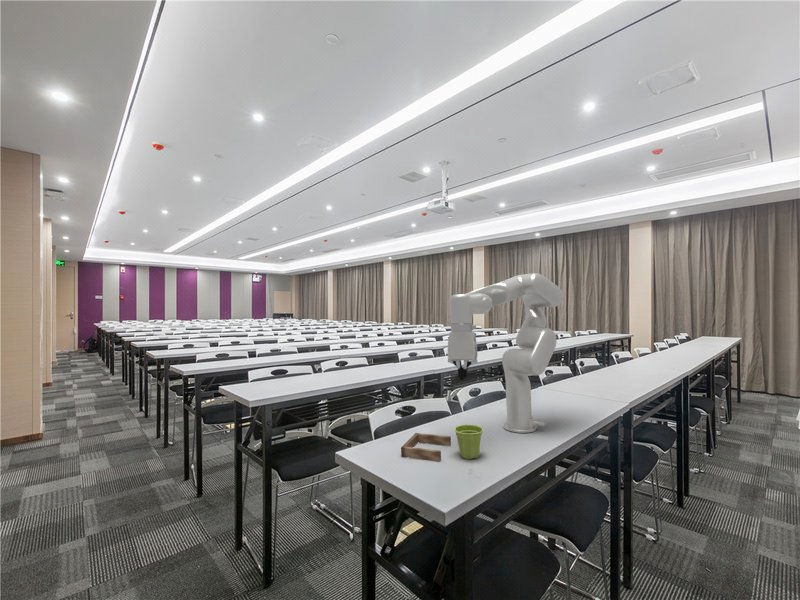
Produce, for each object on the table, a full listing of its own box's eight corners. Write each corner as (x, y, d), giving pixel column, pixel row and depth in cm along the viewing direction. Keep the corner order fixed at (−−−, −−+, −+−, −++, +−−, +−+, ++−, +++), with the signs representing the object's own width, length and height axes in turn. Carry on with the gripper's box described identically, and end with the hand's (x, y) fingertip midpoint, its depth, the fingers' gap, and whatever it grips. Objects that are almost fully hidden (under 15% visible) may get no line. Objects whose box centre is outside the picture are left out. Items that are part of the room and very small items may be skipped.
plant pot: (451, 458, 117) (450, 431, 117) (460, 448, 125) (459, 423, 125) (479, 463, 112) (478, 435, 113) (487, 452, 121) (486, 426, 121)
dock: (451, 444, 129) (450, 436, 129) (440, 461, 115) (439, 452, 115) (415, 441, 133) (415, 432, 133) (401, 456, 119) (401, 447, 119)
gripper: (484, 327, 131) (485, 378, 130) (444, 328, 137) (446, 376, 136) (479, 328, 124) (481, 382, 123) (438, 329, 130) (439, 380, 130)
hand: (462, 379), depth 130 cm, fingers closed
